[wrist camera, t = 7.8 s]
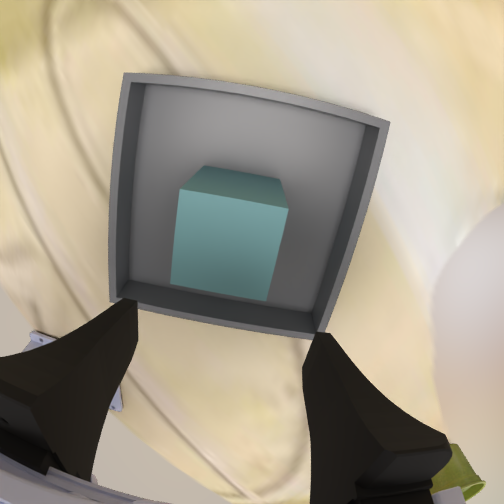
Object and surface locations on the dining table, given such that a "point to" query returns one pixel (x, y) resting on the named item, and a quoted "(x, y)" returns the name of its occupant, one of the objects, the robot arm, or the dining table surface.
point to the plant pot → (458, 476)
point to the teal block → (228, 232)
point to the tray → (249, 161)
